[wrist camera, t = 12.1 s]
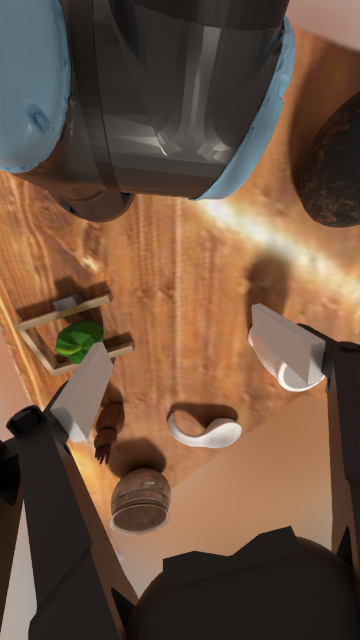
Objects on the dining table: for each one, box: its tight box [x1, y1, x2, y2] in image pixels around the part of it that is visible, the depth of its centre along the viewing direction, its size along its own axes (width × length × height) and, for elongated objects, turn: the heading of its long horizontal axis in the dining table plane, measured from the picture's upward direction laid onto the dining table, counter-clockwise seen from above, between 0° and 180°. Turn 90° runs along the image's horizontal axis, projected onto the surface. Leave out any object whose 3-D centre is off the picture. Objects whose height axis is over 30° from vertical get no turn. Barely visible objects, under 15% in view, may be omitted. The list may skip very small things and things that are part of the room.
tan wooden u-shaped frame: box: [14, 292, 135, 376], centre depth 40 cm, size 18×20×4 cm
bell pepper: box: [56, 320, 104, 365], centre depth 37 cm, size 8×8×10 cm
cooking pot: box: [110, 467, 171, 535], centre depth 59 cm, size 25×19×12 cm
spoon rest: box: [167, 413, 241, 448], centre depth 55 cm, size 24×12×7 cm, turn 72°
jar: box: [248, 326, 325, 392], centre depth 40 cm, size 11×10×15 cm
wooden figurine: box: [94, 403, 125, 464], centre depth 44 cm, size 7×6×15 cm
